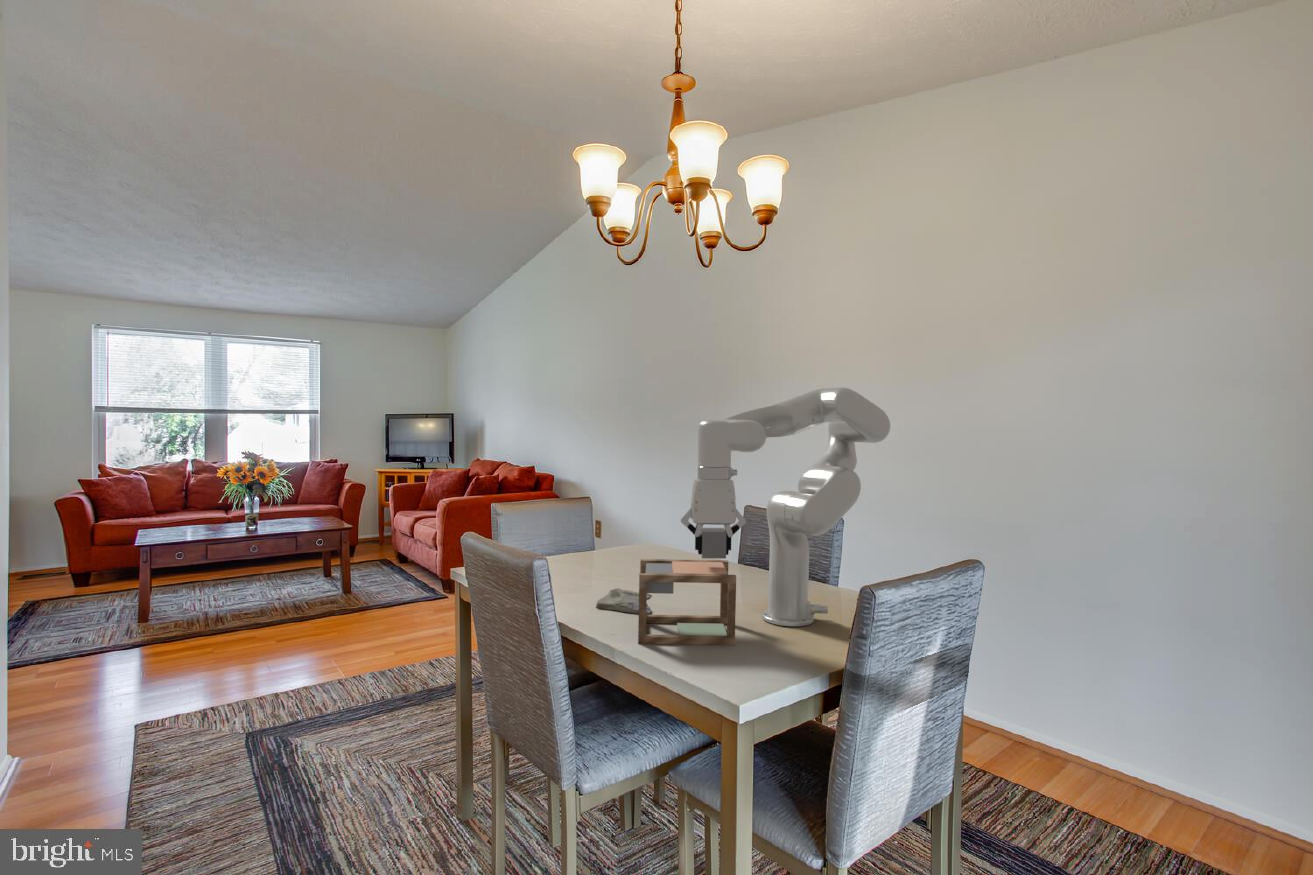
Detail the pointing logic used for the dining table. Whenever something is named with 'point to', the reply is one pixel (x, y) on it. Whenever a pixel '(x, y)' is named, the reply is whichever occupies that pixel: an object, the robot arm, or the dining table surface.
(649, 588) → the trapdoor
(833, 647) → the dining table surface
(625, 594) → the fossil rock
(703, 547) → the grey block
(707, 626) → the mat
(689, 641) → the stand
